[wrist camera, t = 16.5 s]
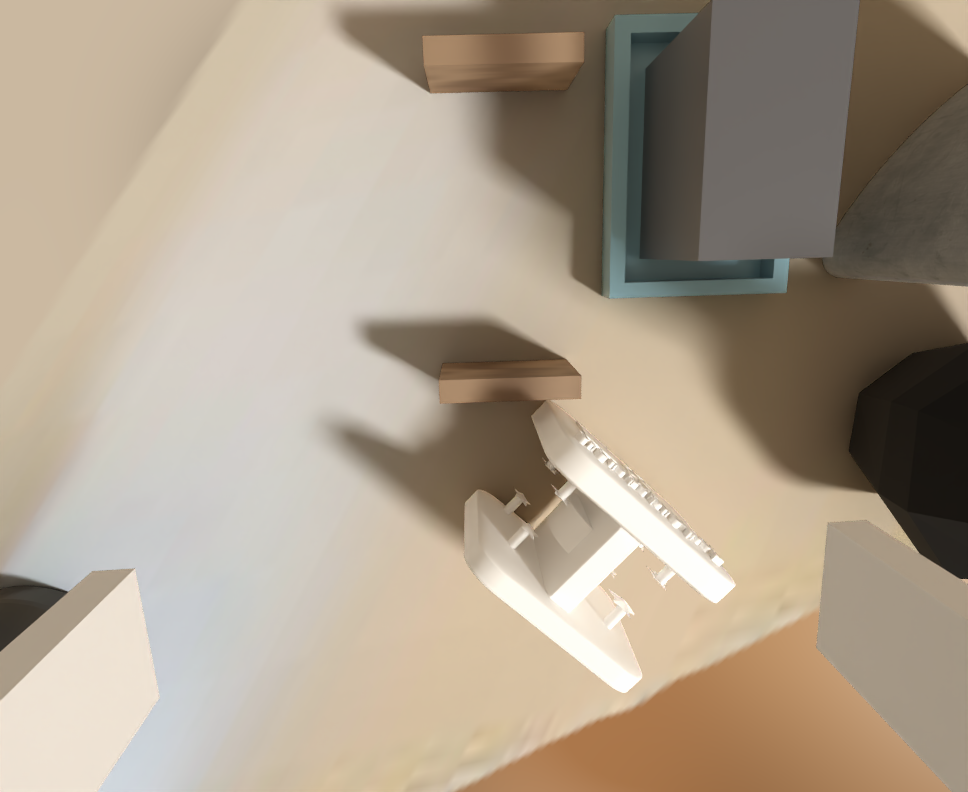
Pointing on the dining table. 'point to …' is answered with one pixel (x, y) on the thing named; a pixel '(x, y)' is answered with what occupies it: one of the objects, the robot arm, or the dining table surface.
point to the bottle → (920, 450)
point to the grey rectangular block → (748, 132)
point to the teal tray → (622, 270)
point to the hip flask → (913, 209)
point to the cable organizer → (584, 548)
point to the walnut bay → (494, 70)
